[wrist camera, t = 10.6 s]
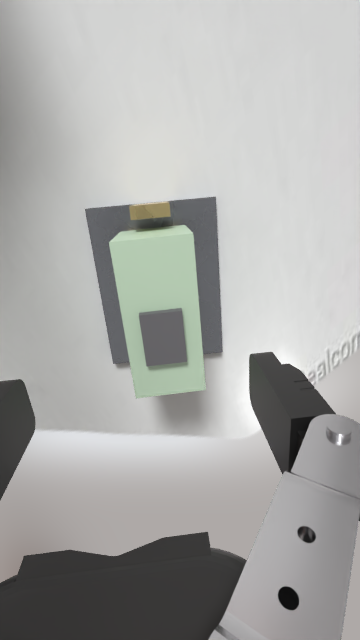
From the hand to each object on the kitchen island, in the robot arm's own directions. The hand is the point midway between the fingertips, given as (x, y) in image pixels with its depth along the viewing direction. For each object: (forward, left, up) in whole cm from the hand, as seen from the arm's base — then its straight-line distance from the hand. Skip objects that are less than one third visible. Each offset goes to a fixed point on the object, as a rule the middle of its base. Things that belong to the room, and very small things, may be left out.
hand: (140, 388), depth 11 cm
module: (+2, +1, -19) cm, 19 cm away
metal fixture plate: (+2, +1, -23) cm, 23 cm away
